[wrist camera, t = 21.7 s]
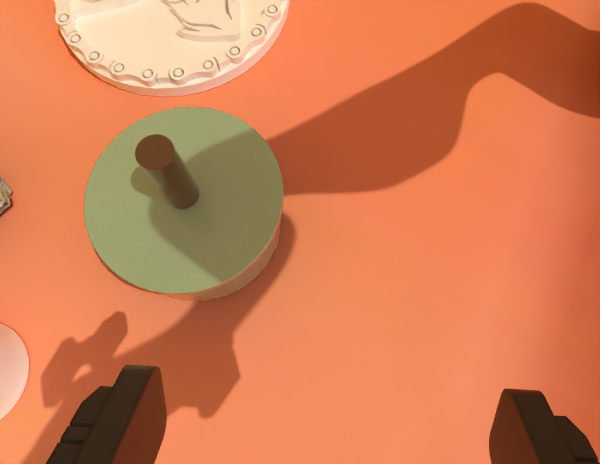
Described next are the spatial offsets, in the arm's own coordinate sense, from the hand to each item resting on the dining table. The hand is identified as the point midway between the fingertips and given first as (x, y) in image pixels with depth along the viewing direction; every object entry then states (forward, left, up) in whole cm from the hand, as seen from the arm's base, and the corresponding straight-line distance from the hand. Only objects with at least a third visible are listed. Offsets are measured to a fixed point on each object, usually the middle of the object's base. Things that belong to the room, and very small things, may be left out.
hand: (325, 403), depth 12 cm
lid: (-8, -15, -22) cm, 28 cm away
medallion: (-28, -32, -29) cm, 51 cm away
